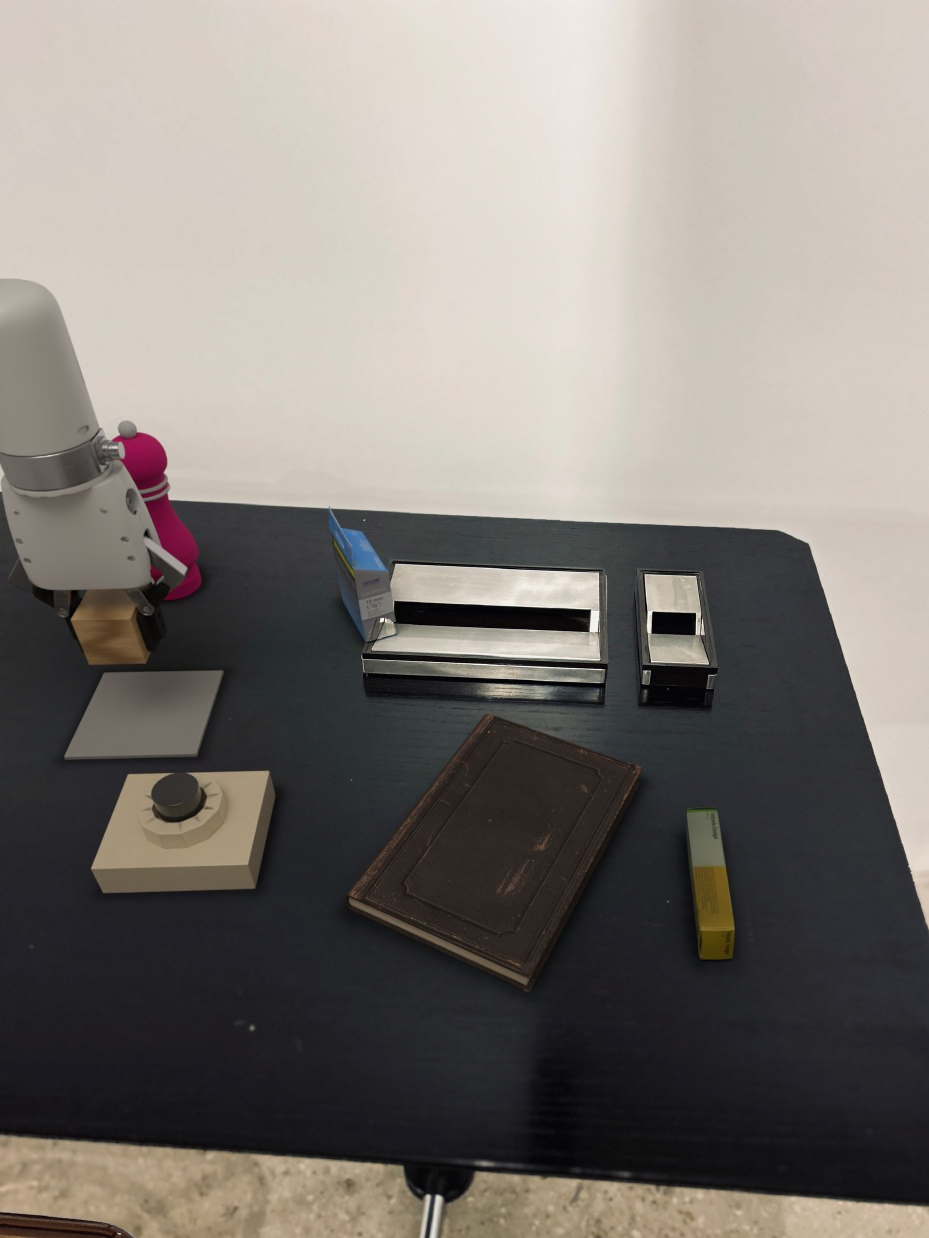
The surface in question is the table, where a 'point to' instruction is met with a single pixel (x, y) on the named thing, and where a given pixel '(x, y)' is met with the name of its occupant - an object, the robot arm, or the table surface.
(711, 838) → the medication box
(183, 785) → the button
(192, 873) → the dial knob box
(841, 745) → the table surface
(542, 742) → the hardcover book
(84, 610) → the block
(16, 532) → the robot arm
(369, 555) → the label tape box
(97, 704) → the pad
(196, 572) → the pepper mill
